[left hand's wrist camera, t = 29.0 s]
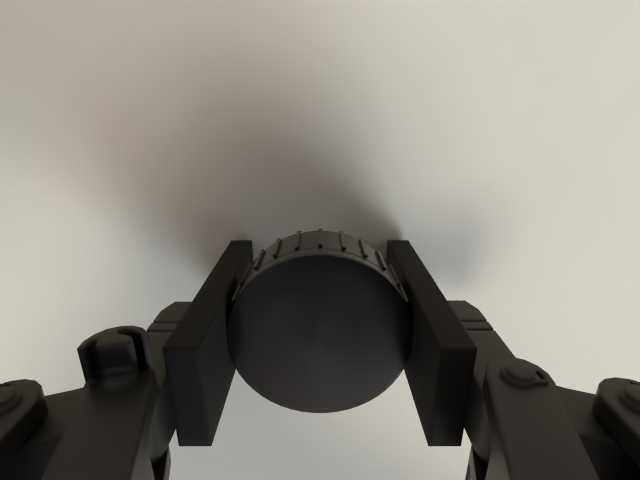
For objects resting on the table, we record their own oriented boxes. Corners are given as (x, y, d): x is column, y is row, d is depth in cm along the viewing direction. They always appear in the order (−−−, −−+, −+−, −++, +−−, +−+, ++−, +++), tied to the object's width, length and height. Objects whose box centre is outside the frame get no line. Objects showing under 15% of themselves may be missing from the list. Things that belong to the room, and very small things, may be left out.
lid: (204, 312, 12) (184, 347, 10) (312, 191, 11) (311, 208, 9) (325, 398, 13) (326, 443, 11) (436, 300, 12) (456, 333, 10)
